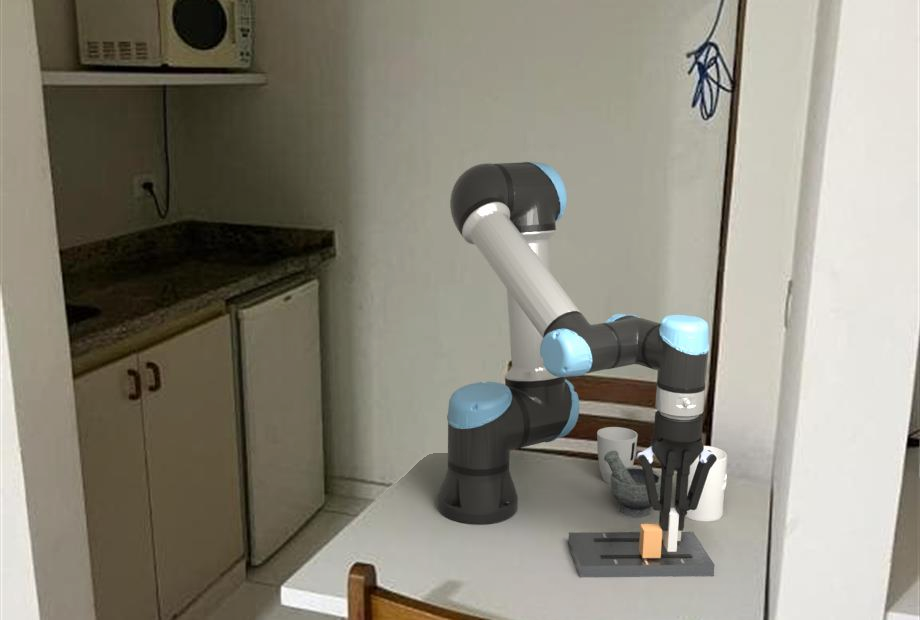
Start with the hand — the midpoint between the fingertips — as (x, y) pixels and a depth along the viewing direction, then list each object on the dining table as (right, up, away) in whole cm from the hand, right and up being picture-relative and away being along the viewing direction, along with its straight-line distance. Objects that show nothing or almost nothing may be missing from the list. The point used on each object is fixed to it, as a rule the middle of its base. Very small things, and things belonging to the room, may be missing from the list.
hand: (669, 547), depth 153 cm
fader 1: (-3, -1, 0) cm, 4 cm away
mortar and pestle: (-2, +1, +22) cm, 22 cm away
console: (-5, -3, +3) cm, 6 cm away
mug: (+11, +1, +23) cm, 26 cm away
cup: (-3, +4, +37) cm, 37 cm away
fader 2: (+1, 0, +6) cm, 6 cm away
